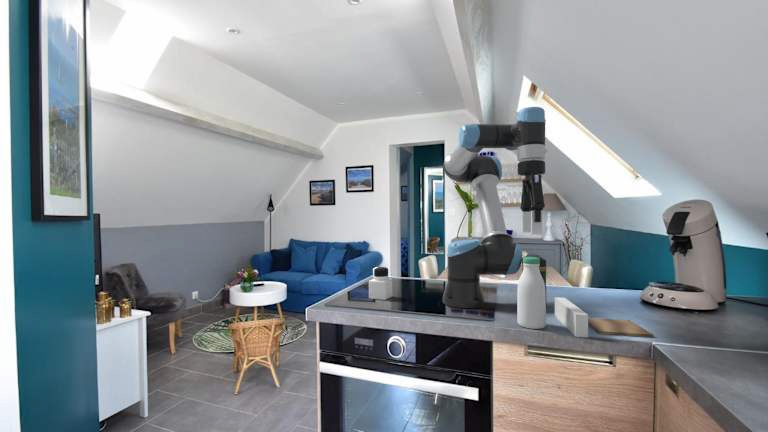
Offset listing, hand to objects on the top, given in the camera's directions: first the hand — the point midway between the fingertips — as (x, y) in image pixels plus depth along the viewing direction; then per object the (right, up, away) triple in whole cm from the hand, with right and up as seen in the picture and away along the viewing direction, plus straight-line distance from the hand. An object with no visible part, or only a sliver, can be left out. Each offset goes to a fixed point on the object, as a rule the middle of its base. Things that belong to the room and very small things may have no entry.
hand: (531, 233), depth 103 cm
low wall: (+11, -27, 0) cm, 29 cm away
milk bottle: (0, -27, 0) cm, 27 cm away
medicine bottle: (-45, -27, +36) cm, 64 cm away
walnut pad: (+23, -27, -3) cm, 36 cm away
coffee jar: (+9, -27, +20) cm, 35 cm away
